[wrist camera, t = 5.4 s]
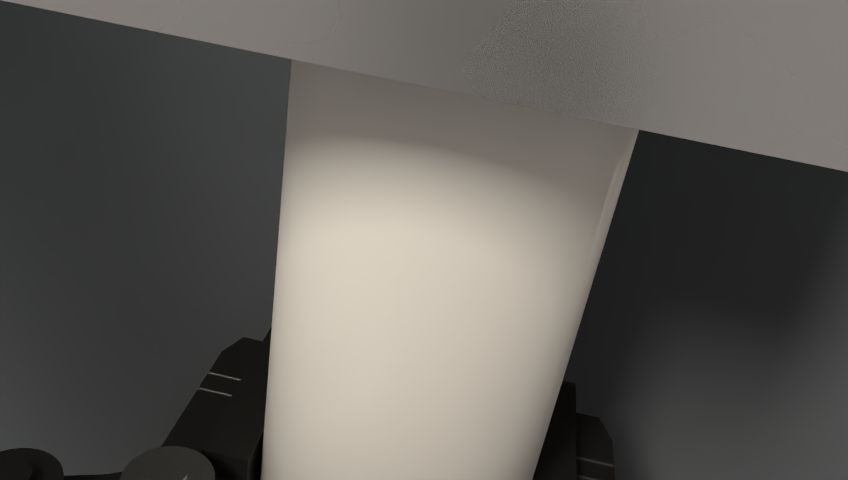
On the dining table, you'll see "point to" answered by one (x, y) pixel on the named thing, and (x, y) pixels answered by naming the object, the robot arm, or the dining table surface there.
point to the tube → (428, 277)
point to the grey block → (565, 57)
